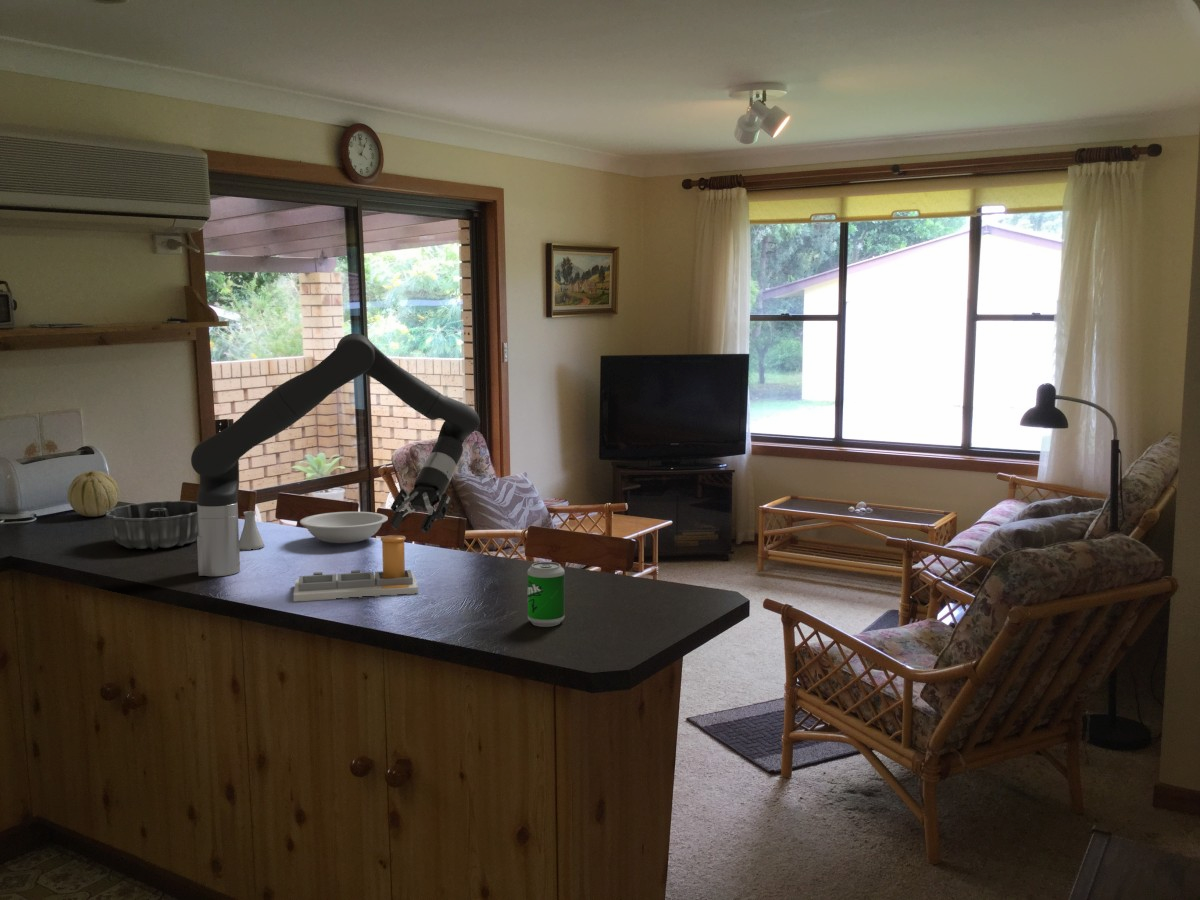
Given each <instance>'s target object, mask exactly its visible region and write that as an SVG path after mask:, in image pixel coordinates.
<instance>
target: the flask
mask: <svg viewBox="0 0 1200 900" xmlns="http://www.w3.org/2000/svg"><path fill="white" fill-rule="evenodd" d="M256 514H257V512H256V511H254V510H247V511H243V515H244V523H243V528H242V531H241V535H240V536H239V551H240V550H242V551H243V550H246V551H249V550H251V549H253V550H260V549H259V548H261V549H263V548H265V542H264V541H263V539H262V536H261V534H260V531H259V528H258V526H257V523H256ZM262 547H263V548H262ZM251 551H252V550H251Z"/></svg>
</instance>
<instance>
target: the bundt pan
mask: <svg viewBox="0 0 1200 900" xmlns="http://www.w3.org/2000/svg"><path fill="white" fill-rule="evenodd" d="M105 516H106V518H108V522H109V525H110V529H111V534H112V537H113V539H114V540H115V542H116V543H117V544H119V545H120V546H123V547H125V548H127V549H130V550H134V549H133V548H136V549H139V550H147V549H151V550H153V551H156V550H157V549H159V548H162V549H170V548H173V547H176V546H181V547H183V546H184V545H188V544H191V543H193V542H195V541H196V542H197V537H198V514H197V501H190V500H173V501H172V500H162V501H147V502H145V501H144V502H139V503H133V504H132V503H130V504H127V505H122V506H115V507H114V508H113V509H112V510H110V511H106V514H105Z"/></svg>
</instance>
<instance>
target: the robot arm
mask: <svg viewBox="0 0 1200 900" xmlns="http://www.w3.org/2000/svg"><path fill="white" fill-rule="evenodd" d="M362 375H366V376H367V377H370V378H372V379H373V380H376V382H378V383H380V384H381V385H383V386H384V387H385V388H386V389H388V390H389V391H390V392H391V393H392V394H393V395H395V396H396V397H397V398H398V399H400V400H401V401H402V402H403V403H404V404H406V405H407V406H408V407H410V408H412V409H413V410H415V411H416V412H418V414H421V415H422V416H423V417H425V418H427V419H429V420H431V421H432V420H433V421H434V420H437V419H439V420H440V419H441V420H443V421H444V422H443V423H442V425H441V427H440V430H439V433H438V437H437V441H436V443H435V444H434V446H433V448H432V450H431V452H430V454H429V456H428V457H427V459H426V460H425V461H424V464H423V466H422V467H421V469H420V471H419V474H418V475H417V477H416V479H415V481H414V486H413V489H412V490H411V491H406V490H405V489H400V490H399V492H398V493H397V496H396V497H395V499H394V501H393V502H392V504H391V506H390V510H392V512H393V513H394V515H393V517H392V518H391V521H390V526H391V527H392V529H393V530H399V527H400V526H401V523H402V522H403V521H404V517H405V516H407V514H412V513H413V512H415V511H417V512H418V511H419V512H420V511H422V512H427V514H428V515H427V514H426V516H425V518H424V520H423V521H422V524H421V526H420V530H421V531H422V532H423V533H425V534H427V533H428V532H429V531H430V530H431V529H432V526H433V525H434V523H435V521H437V520H439V519H440V520H443V519H445V516H446V514H447V512H448V510H449V507H450V504H451V503H452V499H451V497H450V496H449V494H448V493H446V490H447V488H448V486H449V484H450V482H451V480H452V478H453V477H454V475H455V474H454V473H455V471H456V468H457V465H458V463H459V461H460V459H461V458H462V455H463V452H464V448H463V443H464V442H465V440H466V439H467V438H468V437H469V436H470V435H472V434H473V433H474V432H476V431H477V430H478V428H479V427H480V423H481V418H480V416H479V414H478V412H477V411H476V410H475V409H474V408H473V407H471V406H470V405H468V404H466V403H464V402H462V401H459V400H456V399H454V398H453V397H452V398H451V397H449V396H445V395H444V394H442V393H440V392H439V391H438V390H436V389H435V388H433V387H432V386H430V385H429V384H428V383H426V382H424V381H422V380H421V379H420V378H419V377H416V376H415V375H414V374H412V373H410V372H409V371H407V370H405V369H404V368H403V367H401V366H399V364H397V363H396V362H395V361H393V360H392V359H391V358H390V357H388V356H387V355H386V354H385V353H383V352H382V351H381V350H380V349H379V348H378V347H377V346H376V345H375V344H373V342H372V341H371V340H370V339H369V338H368V337H366V336H365V335H363V334H360V333H349V334H346V335H344V336H343V337H342V338H341V339H339V341H338V342H337V346H336V348H335V349H334V350H333V351H332V352H331V353H330V354H329V355H328V356H326V357H325V358H324V359H323V360H321V361H320V362H319V363H318V364H317V365H314V367H313V368H310V369H309V370H307V371H305V372H303V373H301V374H298V375H296V376H294V377H292V378H291V379H288V380H287V381H284V382H283V383H281V384H280V385H278V386H277V387H276V388H274V389H272V390H271V391H270V392H269V393H267V394H266V395H265V396H263V397H262V398H261V399H260V400H259V401H257V402H256V403H255V404H253V405H252V406H251V407H250V408H249V409H248V410H247V411H246V412H245V413H243V414H242V415H241V417H239V418H238V419H236V421H235V422H233V423H232V424H230V425H229V426H227V427H226V428H224V429H223V430H221V431H219V432H218V433H216V434H214V435H211V437H208V438H207V439H204V440H202V441H201V442H199V443H198V444H197V445H196V446H195V447H194V449H193V451H192V453H191V458H190V463H191V466H192V469H193V470H194V472H195V473H196V474H198V475H199V487H198V491H197V493H196V502H197V514H198V537H197V540H196V543H197V545H196V547H197V564H198V565H197V566H198V567H197V568H198V570H197V571H198V576H199V577H200V576H201V577H202V576H205V577H223V576H224V577H225V576H230V575H234V574H237V573H239V572H241V561H240V560H241V559H240V557H241V556H240V553H241V552H240V549H239V540H240V535H239V534H240V533H239V531H240V529H239V508H238V507H239V506H238V504H239V503H238V493H239V489H240V462H239V461H240V460H239V459H240V458H242V457H243V456H244V455H245V454H247V453H248V452H249V451H250V450H252V449H253V448H254V447H257V446H258V445H260V444H261V443H263V442H265V441H267V440H269V439H271V438H273V437H275V436H276V435H278V434H279V433H281V432H283V431H285V430H287V429H288V428H289V427H291V426H292V425H293V424H296V423H297V422H298V421H300V419H302V418H304V416H306V415H307V414H309V412H311V411H312V410H313V409H315V408H316V407H317V406H318V405H320V404H321V403H322V402H323V401H324V400H325V399H326V398H327V397H328V396H330V395H331V394H332V393H333V392H335V391H336V390H338V389H340V388H341V387H342V386H345V385H346V384H348V383H349V382H351V381H353V380H354V379H356V378H358V377H360V376H362ZM409 504H410V505H411V506H409ZM436 505H437V507H435V506H436Z"/></svg>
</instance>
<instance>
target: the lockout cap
mask: <svg viewBox="0 0 1200 900" xmlns="http://www.w3.org/2000/svg"><path fill="white" fill-rule="evenodd" d="M380 541H381V544H382V546H381V549H382V571H383V579H390V578H405V570H406V560H405V559H406V558H405V541H406V536H405V535H401V534H400V535H399V534H392V535H391V534H389V535H384V536H382V537H381V536H380Z"/></svg>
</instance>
